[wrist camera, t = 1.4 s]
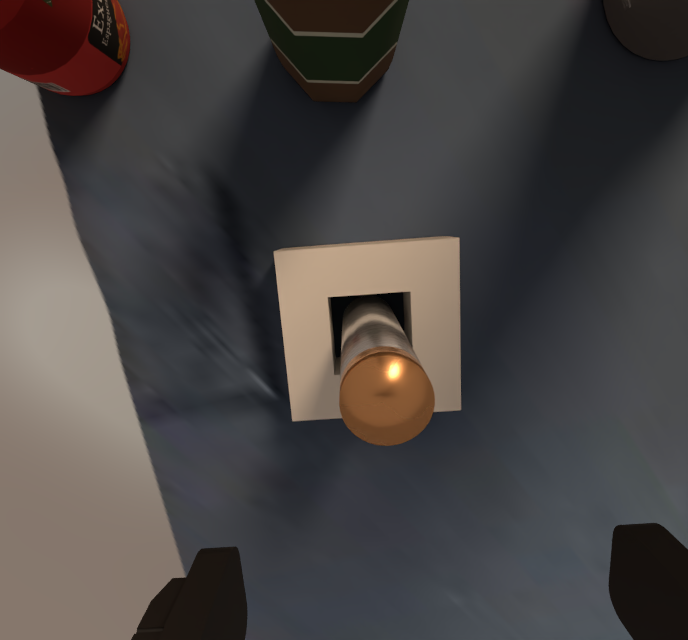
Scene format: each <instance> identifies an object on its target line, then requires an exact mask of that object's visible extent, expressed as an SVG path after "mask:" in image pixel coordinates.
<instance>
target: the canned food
mask: <svg viewBox="0 0 688 640" xmlns="http://www.w3.org/2000/svg"><path fill="white" fill-rule="evenodd" d="M129 51H130V35H129V29H128V24H127V22H126V19H125V16H124V13H123V11H122V8H121V6H120V4H119V3H118V1H117V0H0V69H2V70H4V71H6V72H9V73H11V74H13V75H16V76H18V77H20V78H22V79H24V80H27V81H29V82H31V83H34V84H36V85H38V86H40V87H42V88H45V89H47V90H49V91H52V92H55V93H58V94H62V95H70V96H82V95H91V94H95V93H98V92H101V91H102V90H104V89H106V88H108V87H109V86H110V85H112V84H113V83H114V82H115V81H116V80H117V79H118V77H119V76H120V75H121V73H122V72H123V70H124V68H125V65H126V63H127V60H128V56H129Z"/></svg>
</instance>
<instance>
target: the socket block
mask: <svg viewBox="0 0 688 640" xmlns="http://www.w3.org/2000/svg"><path fill="white" fill-rule="evenodd" d="M274 260H275V269H276V278H277V287H278V296H279V305H280V315H281V324H282V333H283V342H284V351H285V360H286V369H287V378H288V387H289V396H290V405H291V414H292V421H305V420H320V419H335V418H342V416H341V412H340V407H339V393H340V369H341V357H336V356H335V344H334V332H333V319H332V307H331V297H339V296H353V295H367V294H381V293H395V292H403V307H404V331H405V335H406V337H407V339H408V341H409V343H410V344H411V346H412V348H413V350H414V352H415V354H416V356H417V357H418V359H419V361H420V363H421V365H422V367H423V369H424V371H425V372H426V374H427V376H428V378H429V380H430V382H431V384H432V386H433V390H434V395H435V406H434V411H433V412H443V411H458V410H461V349H460V256H459V238H457V237H449V236H439V237H426V238H412V239H399V240H385V241H372V242H359V243H345V244H332V245H318V246H305V247H292V248H282V249H279V250H276V251H274Z"/></svg>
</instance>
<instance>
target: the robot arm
mask: <svg viewBox="0 0 688 640" xmlns="http://www.w3.org/2000/svg"><path fill="white" fill-rule="evenodd" d="M603 4H604V9H605V13H606V17H607V21H608V23H609V25H610V27H611V29H612V31H613V33H614V35H615V36H616V37H617V38H618V40H619V41H620V42H621V43H622V45H624V46H625V47H626V48H628V49H629V50H630V51H632V52H633V53H634V54H637V55H639V56H641V57H644V58H646V59H651V60H658V61H666V60H676V59H679V58H682V57H686V56H688V0H603ZM609 593H610V597H611V601H612V604H613V607H614V609H615V611H616V614H617V615H618V617H619V619H620V621H621V622H622V624H623V625H624V627H625V628H626V629H627V631H628V632H629V634H630V635H631V637H632V638H633V640H688V549H687V548H686V547H685V546H683V545H682V544H681V543H680V542H679V541H678V540H677V539H676V538H675V537H674V536H673V535H672V534H671V533H670V532H669V531H668V530H667V529H665V528H664V527H663V526H661V525H660V524H657V523H645V524H629V525H618V526H616V527H615V529H614V531H613V539H612V550H611V562H610V574H609ZM246 628H247V601H246V594H245V588H244V581H243V574H242V568H241V561H240V555H239V551H238V548H237V547H221V548H204V549H201V550H200V551H199V552H198V553H197V555H196V557H195V560H194V562H193V564H192V566H191V569H190V571H189V573H188V575H187V577H186V578H173V579H171V581H170V582H169V583H168V584H167V585H166V586H165V587H164V588H163V589H162V590H161V591H160V592H159V593H158V594H157V595H156V597H155V598H154V599H153V600H152V601H151V602H150V605H149V606H148V608H147V610H146V612H145V614H144V616H143V618H142V620H141V622H140V624H139V626H138V628H137V633H136V634H134V635H133V637H132V639H131V640H245V635H246Z"/></svg>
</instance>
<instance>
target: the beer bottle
mask: <svg viewBox="0 0 688 640" xmlns="http://www.w3.org/2000/svg"><path fill="white" fill-rule="evenodd" d="M408 2H409V0H255V3H256V5H257V7H258V10H259V12H260V15H261V17H262V20H263V22H264V25H265V27H266V30H267V32H268V34H269V37H270V39H271V42H272V44H273V47H274V49H275V52H276V54H277V57H278V58H279V60H280V62H281V64H282V65H283V67H284V68H285V69H286V70H287V71H288V73H289V74H290V75H291V76H292V77H293V78H294V79H295V81H296V82H297V83H298V84H299V85H300V86H301V87H302V89H303V90H304V91H305V92H306V93H307V94H308V95H309V96H310V98H311V99H312V100H313V101H326V102H357V101H358V100H359V99H360V98H361V97H362V96H363V95H364V94H365V93H366V92H367V91H368V90H369V89H370V88H371V87H372V86H373V85H374V84H375V83H376V82H377V81H378V80H379V79H380V78H381V76H382V75H383V74H384V73H385V72H386V71H387V70H388V69H389V66H390V64H391V62H392V59H393V56H394V52H395V49H396V45H397V41H398V38H399V34H400V31H401V27H402V23H403V20H404V16H405V13H406V9H407V5H408Z"/></svg>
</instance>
